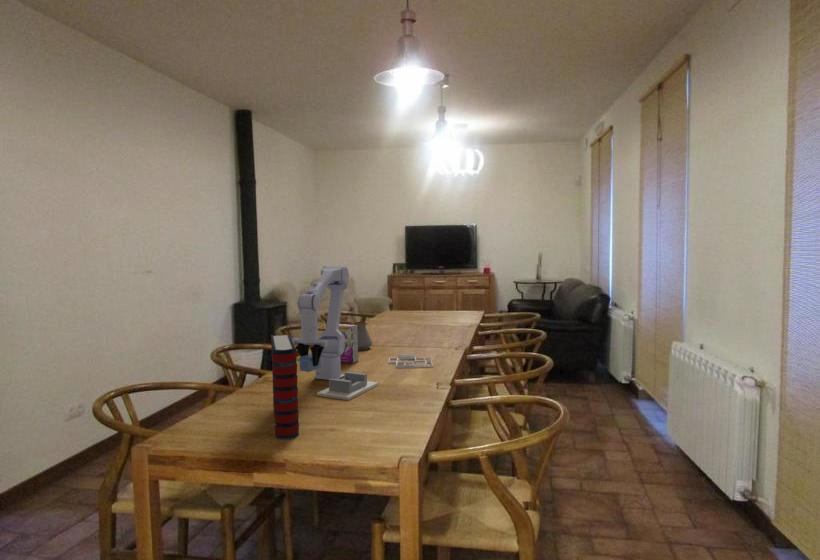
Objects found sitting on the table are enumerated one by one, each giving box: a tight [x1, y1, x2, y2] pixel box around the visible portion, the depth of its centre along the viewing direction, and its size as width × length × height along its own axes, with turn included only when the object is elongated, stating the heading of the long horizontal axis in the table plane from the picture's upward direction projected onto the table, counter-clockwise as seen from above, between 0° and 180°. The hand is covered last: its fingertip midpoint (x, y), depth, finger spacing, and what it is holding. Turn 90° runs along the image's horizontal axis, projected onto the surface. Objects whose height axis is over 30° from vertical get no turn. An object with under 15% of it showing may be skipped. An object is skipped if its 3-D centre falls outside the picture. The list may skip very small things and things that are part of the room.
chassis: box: [316, 371, 379, 401], centre depth 191 cm, size 13×20×5 cm, turn 154°
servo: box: [296, 352, 323, 373], centre depth 190 cm, size 4×10×6 cm, turn 154°
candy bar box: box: [331, 323, 359, 364], centre depth 234 cm, size 11×5×16 cm, turn 65°
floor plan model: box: [388, 354, 434, 369], centre depth 231 cm, size 19×25×2 cm
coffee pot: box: [352, 321, 373, 351], centre depth 257 cm, size 21×12×15 cm, turn 178°
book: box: [270, 333, 300, 440], centre depth 156 cm, size 25×7×25 cm, turn 16°
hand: (310, 365), depth 190 cm, fingers closed on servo, 4 cm apart
